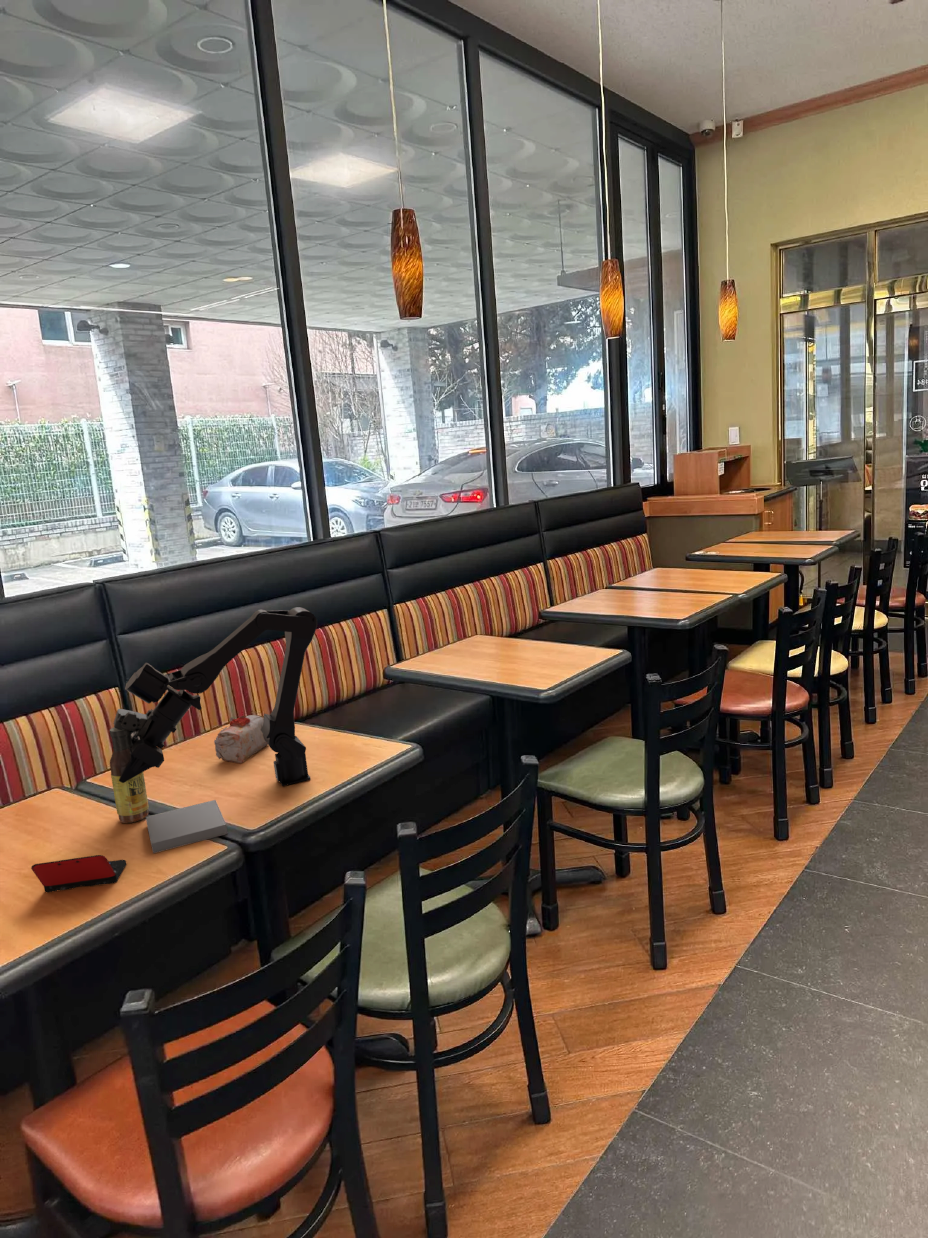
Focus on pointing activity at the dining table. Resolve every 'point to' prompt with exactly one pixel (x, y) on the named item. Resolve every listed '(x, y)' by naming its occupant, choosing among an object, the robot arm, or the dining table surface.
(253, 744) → the food item
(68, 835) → the dining table surface
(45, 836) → the dining table surface
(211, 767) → the dining table surface
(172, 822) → the stand
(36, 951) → the dining table surface
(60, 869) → the handheld game console
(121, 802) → the sauce bottle
